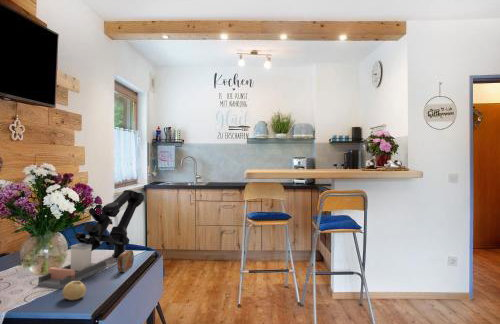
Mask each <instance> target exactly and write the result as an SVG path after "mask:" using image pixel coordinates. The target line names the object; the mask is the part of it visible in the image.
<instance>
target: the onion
mask: <svg viewBox="0 0 500 324" xmlns="http://www.w3.org/2000/svg"><path fill="white" fill-rule="evenodd" d="M81 280H82V279H80V280H79V281H72V282H70V283H68V284H67V285H66V286H65V287H64V288H63V289H62V292H61V294H62V297H63V298H64V299H65V300H66V301H77V300H79V299H81V298H83V297H84V296H85V294H86V291H87V287H86V285H85V284H84V283H83V282H82V281H81Z"/></svg>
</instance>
